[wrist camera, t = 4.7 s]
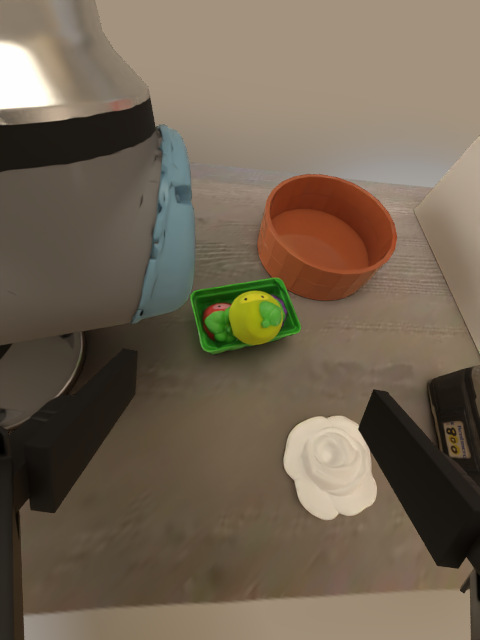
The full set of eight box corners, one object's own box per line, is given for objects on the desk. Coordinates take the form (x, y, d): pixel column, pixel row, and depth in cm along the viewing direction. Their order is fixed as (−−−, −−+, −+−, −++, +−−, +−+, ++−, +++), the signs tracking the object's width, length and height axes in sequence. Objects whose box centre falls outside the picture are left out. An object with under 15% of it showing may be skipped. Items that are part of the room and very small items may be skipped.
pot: (239, 271, 38) (244, 239, 32) (278, 195, 46) (289, 159, 40) (358, 320, 36) (387, 296, 31) (377, 233, 44) (403, 201, 39)
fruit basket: (272, 296, 36) (296, 239, 26) (294, 355, 33) (332, 315, 23) (191, 311, 34) (184, 255, 24) (205, 377, 31) (204, 343, 20)
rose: (382, 557, 21) (276, 493, 22) (354, 540, 25) (266, 486, 26) (405, 439, 26) (316, 390, 27) (379, 440, 30) (302, 397, 31)
